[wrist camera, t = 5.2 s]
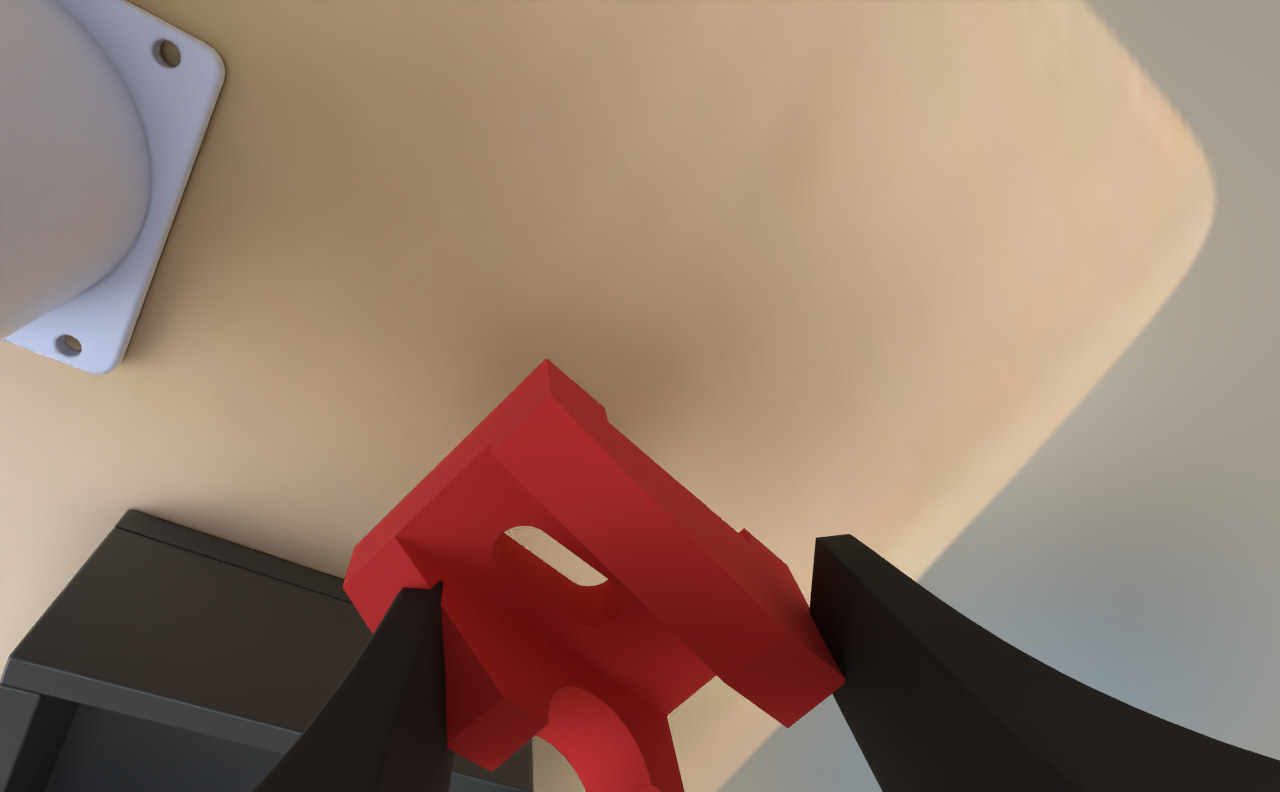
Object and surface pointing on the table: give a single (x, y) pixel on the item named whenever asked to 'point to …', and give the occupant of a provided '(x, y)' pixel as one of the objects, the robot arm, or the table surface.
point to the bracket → (587, 594)
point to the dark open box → (184, 670)
